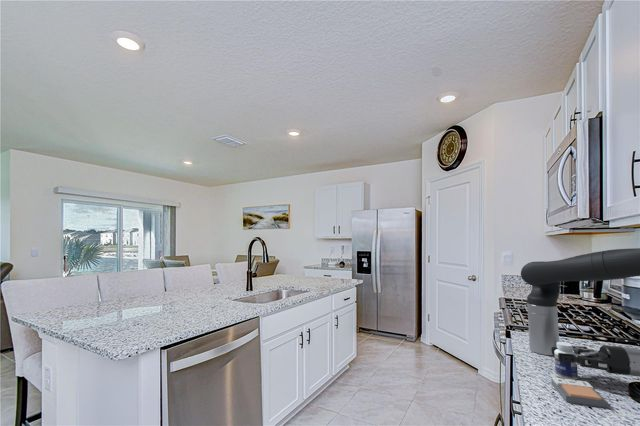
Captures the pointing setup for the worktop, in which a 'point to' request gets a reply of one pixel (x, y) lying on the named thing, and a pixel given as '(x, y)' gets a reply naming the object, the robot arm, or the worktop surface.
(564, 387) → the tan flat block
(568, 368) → the pill bottle
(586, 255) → the robot arm
